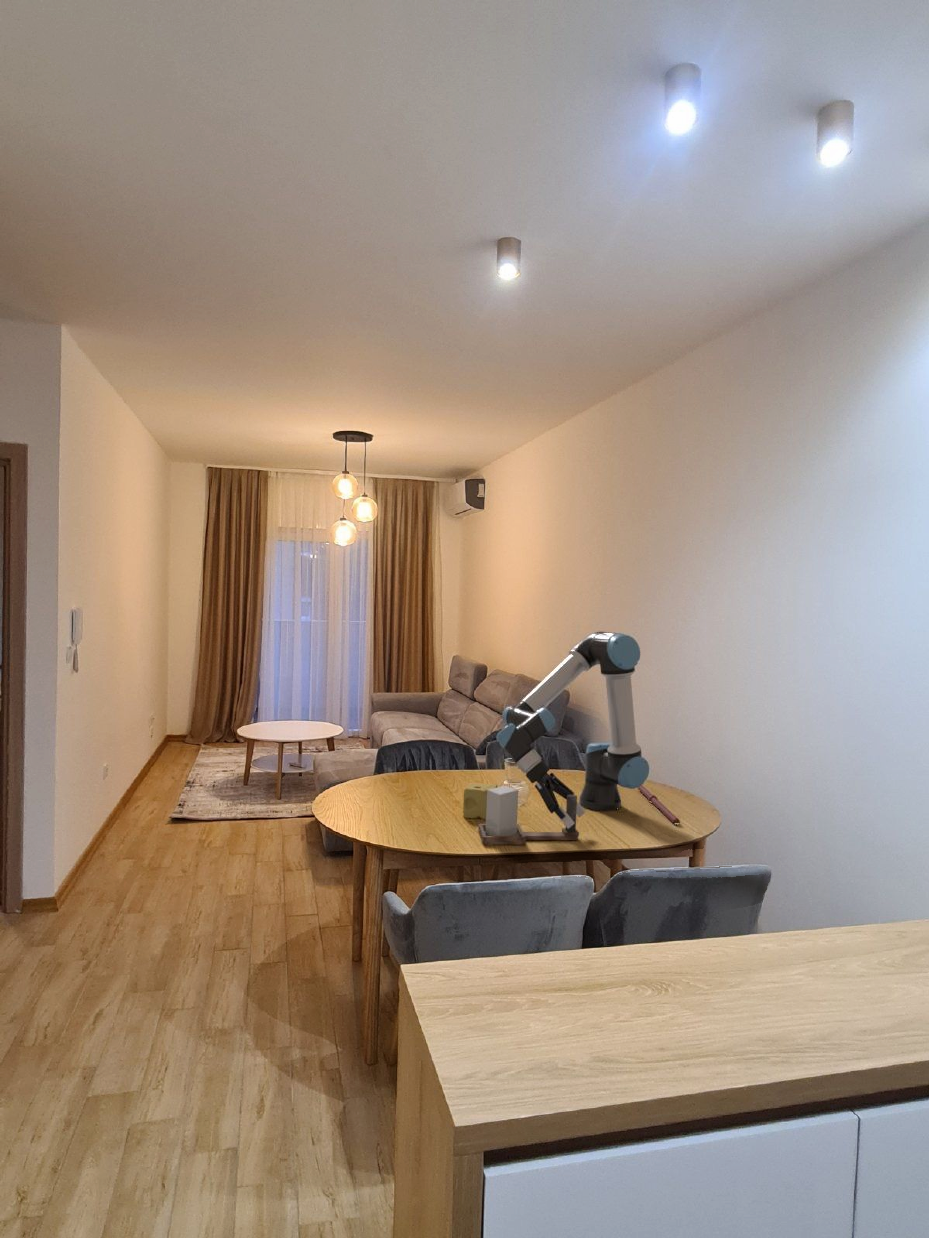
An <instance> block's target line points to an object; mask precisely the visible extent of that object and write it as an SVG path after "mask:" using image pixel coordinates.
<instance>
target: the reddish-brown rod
mask: <svg viewBox="0 0 929 1238" xmlns="http://www.w3.org/2000/svg"><path fill="white" fill-rule="evenodd" d="M637 790H638V791H639V790H640V791H641V792H642V793H641V792H640V791H639V792H640V793H641V794H642V795H643V794H644V795H645V796H646V797H647V798H648V799H647V798H646V797H645V796H644V795H643V796H644V797H645V798H646V799H647V801H648V800H649V801H651V802H652V803H651V804H653V806H655V808H657V809H658V808H659V809H660V810H659V809H658V810H659V811H660V812H661V811H662V812H663V813H664V814H665V815H666V816H667V817H668V818H669V819H670V820H671V821H673V822H674V823H679V824H680V823H681V821H680V819H679V818H678V817H677V816H676V815H675V814H673V813H672V812H671V811H670V810H669V809H668V808H667V807H666V806H665V805H664V804H662V803H661V801H659V800H658V797H657V796H656V795H654V794H652V793H651V792H650V791H649V790H648V789H647V788H646V787H644V786H643V784H642V785H641V786H640V787H638V788H637ZM649 801H648V802H649ZM662 812H661V813H662ZM663 813H662V814H663ZM664 814H663V815H664ZM665 815H664V816H665ZM666 816H665V817H666ZM667 817H666V818H667ZM668 818H667V819H668ZM669 819H668V820H669ZM670 820H669V821H670ZM671 821H670V822H671Z"/></svg>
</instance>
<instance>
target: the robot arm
mask: <svg viewBox="0 0 929 1238" xmlns="http://www.w3.org/2000/svg"><path fill="white" fill-rule="evenodd" d="M640 659H641V648H640V645H639V643H638V642H637V640H636V639H635V638H634V637H633V636H630V635H628V634H625V633H621V632H610V631H609V632H608V631H596V632H592V633H591V634H589V635H587V636H585V637H584V638H583V639H582V640H580V641H579V642H578V643H577V644H575V645H574V646H573V647H572V648H571V649H570V650H568V656H567V657H565V659H563V660H562V661H561V662H560V663H559V664H558V665H557V666H556V667H555V668H554V669H553V670H552V671H550V673H548V674H547V676H546V677H545V678H543V679H542V680H541V681H540V682H539V683H538V684H536V686H535V687H534V688H533V689H532V690H531V691H530V692H528V694H526V696H524V697H523V698H522V699H521V700H520V701H519V702H518V703H516V705H510V706H507V707H506V708H504V710H503V711H502V714H501V720H502V723H503V725H505V727H504V728H502V729H501V730H500V731H499V732H498V733H497V734H496V736H495V737H496V741H497V742H498V743H499V745H500V746H501V747H502V749H503V750H504V751H505V752H506V754H507V755H508V756H509V757H510V758H511V760H513V762H514V763H515V764H516V765H517V769H519V770H521V772H522V773H523V774H525V776H526V778H527V779H528V780H529V783H531V784H534V783H536V784H535V785H534V787H535V789H536V790H537V792H538V793H539V795H540V797H541V798H542V800H543V802H544V804H545V806H546V808H547V810H548V811H549V813H550V814H553V813H554V814H555V815H556V816H557V817H558V818H559V820H560V821H561V822H562V824H563V825H564V826H565V828H566V827H567V828H568V829H569V828H570V827H571V826H572V825H573V824H575V823H574V821H573V820H572V819H571V818H570V816H569V815H568V814H567V813H566V809H565V808H563V806H560V803H559V802H558V799H557V797H556V795H555V794H557V795H559V797H561V798H563V799H565V802H566V803H567V795H575V792H574V791H573V790H572V789H570V788H569V786H567V785H566V784H565V783H564V782H563V781H562V780H561V779H559V778H558V777H557V776H556V775H555V774H554V773H553V772H550V773H548V772H549V771H550V766H549V765H548V764H547V763H546V762H545V761H544V760H542V757H541V755H540V754H539V753H538V752H537V751H536V750H535V748H534V747H533V746H532V745H533V744H534V743H535V742H537V740H540V738H542V737H543V736H544V735H546V734H547V733H548V732H550V731H551V729H552V728H554V727H555V726H556V719H555V717H554V715H553V714H552V712H550V710H548V709H547V708H546V707H548V706H549V704H551V703H552V702H553V701H554V700H555V699H556V698H557V697H558V696H559V695H560V694H561V693H562V692H564V691H565V690H566V688H567V687H568V686H570V685H571V683H572V682H574V681H575V680H576V679H577V678H578V677H579V676H580V675H581V674H582V673H583V672H588V671H589V670H590V669H592V668H593V667H595V666H597V665H600V666H599V667H600V675H602V676H603V677H604V678H605V684H606V685H605V686H606V695H607V696H606V698H607V708H608V709H607V710H608V720H609V721H608V722H609V731H610V732H609V734H610V735H609V736H610V742H591V743H589V744H588V745H586V752H585V771H584V772H585V780H584V785H583V787H582V790H581V793H580V795H579V800H578V801H579V802H578V801H577V811H576V816H577V817H578V818H581V816H583V815H584V814H585V813H586V810H585V809H588V808H590V809H589V810H592V809H593V810H592V811H599V810H602V811H603V812H611V811H610V810H613V811H615V810H614V809H617V808H620V807H621V808H622V799H621V796H620V791H619V788H618V786H620V787H622V788H624V789H625V788H627V789H629V790H630V789H631V790H634V789H635V790H636V789H638V787H640V786H641V785H642V786H643V785H644V783H645V782H646V780H647V779H648V777H649V774H650V765H649V762H648V760H646V758H645V757H643V755H642V754H643V753H642V747H641V746H640V745H639V744H638V743H637V737H636V723H635V713H634V711H635V710H634V698H633V687H632V685H633V684H632V675H633V674H634V673H635V672H636V671H635V669H636V668H635V667H636V666H637V665H638V663H639V662H638V661H640ZM584 808H585V809H584ZM621 808H620V809H621ZM607 810H609V811H607ZM602 811H601V812H602Z"/></svg>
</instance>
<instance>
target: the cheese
mask: <svg viewBox="0 0 929 1238" xmlns="http://www.w3.org/2000/svg"><path fill="white" fill-rule="evenodd" d="M493 788H498V784H497V783H496V784H495V783H477V782H469V783H468V784H467V786H466V787H465V788H464V790H463V804H462V805H463V806H462V807H463V808H462V810H463V812H462V814H463V815H462V816H463V818H470V819H479V818H480V819H481V820H486V809H487V790H489V789H493Z"/></svg>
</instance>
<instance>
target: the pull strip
mask: <svg viewBox="0 0 929 1238" xmlns="http://www.w3.org/2000/svg"><path fill="white" fill-rule="evenodd" d="M566 801H567V802H566V807H565V808H566V809H565V812H566V813H567V814H568V815H569V816H570V818H571V819H572V820H573V821H574V823H575V824H573V825H572V826H571V827H570V828H569V829H568V828H567V827H566V826H565V827H561V832H560V831H523V830H522V828H521V826H520V824H519V823H517V836H486V823H478V824H477V825H478V827H477V831H478V833H479V836H480V839H481V842H482V845H526V840H527V841H529V840H530V841H531V840H533V841H578V840H579V837H580V832H579V831H578V829H577V828H576V827H577V814H576V811H577V802H578V796H577V795H575V794H574V795H567V800H566Z"/></svg>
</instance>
